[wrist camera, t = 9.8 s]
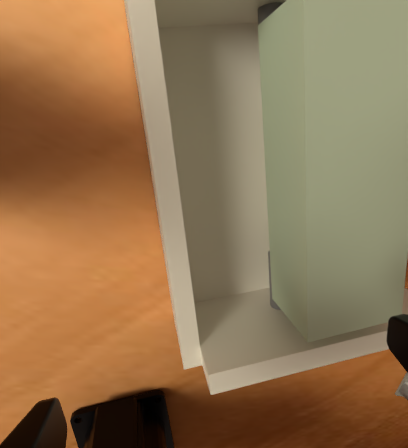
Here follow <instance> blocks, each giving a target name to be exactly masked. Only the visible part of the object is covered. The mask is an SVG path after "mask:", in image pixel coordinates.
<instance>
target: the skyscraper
mask: <svg viewBox="0 0 408 448" xmlns="http://www.w3.org/2000/svg"><path fill="white" fill-rule="evenodd" d="M395 395H397V396H404V397H405V398H406V399H407V400H408V373H406V375H405V377H404V378H403V380H402V382H401V384H400V386H399V387H398V389H397V391H396V393H395Z"/></svg>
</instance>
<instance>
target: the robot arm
mask: <svg viewBox="0 0 408 448" xmlns="http://www.w3.org/2000/svg"><path fill="white" fill-rule="evenodd" d="M386 341H387V345H388V347H389V349H390V351H391V352H392V353H393V354H394V356H395V357H396V358H397V360H398V361H399V362H400V364H401V365H402V366H403V367H404V369H405V370H406V371H407V373H408V315H407V314H400V315H395V316H392V317H390V318H389V320H388V329H387V339H386ZM157 397H160V398H157ZM156 398H157V399H156ZM70 422H71V425H72V429H73V432H74V435H75V438H76V441H77V444H78V447H79V448H174V443H173V438H172V432H171V427H170V422H169V416H168V411H167V406H166V400H165V395H164V392H163V391H161V390H156V391H152V392H148V393H144V394H140V395H136V396H132V397H128V398H124V399H120V400H116V401H112V402H108V403H104V404H100V405H96V406H92V407H88V408H84V409H80V410H76V411H74V412H73V413H72V416H71V420H70ZM66 438H67V423H66V420H65V417H64V414H63V410H62V407H61V404H60V401H59V400H58V398H50V399H46V400H42V401H39V402H38V403H37V404H36V405H35V406H34V407H33V408H32V409H31V410H30V411H29V413H28V414H27V415H26V416H25V417H24V418H23V419H22V420H21V422H20V423H19V424H18V425H17V426H16V427H15V428H14V430H13V431H12V432H11V433H10V434H9V435H8V436H7V438H6V439H5V440H4V441H3V442H2V443H1V444H0V448H66Z"/></svg>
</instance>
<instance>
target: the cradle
mask: <svg viewBox="0 0 408 448" xmlns="http://www.w3.org/2000/svg"><path fill="white" fill-rule="evenodd" d="M285 1H286V0H124V3H125V11H126V17H127V24H128V30H129V36H130V43H131V49H132V55H133V62H134V68H135V74H136V81H137V87H138V93H139V100H140V106H141V112H142V119H143V125H144V131H145V138H146V144H147V150H148V157H149V163H150V169H151V176H152V182H153V188H154V195H155V201H156V207H157V214H158V220H159V227H160V233H161V239H162V246H163V252H164V258H165V265H166V271H167V277H168V284H169V290H170V296H171V303H172V309H173V315H174V321H175V326H176V331H177V336H178V341H179V346H180V351H181V356H182V361H183V366H184V369H188V368H192V367H197V366H201V365H203V369H204V373H205V376H206V380H207V383H208V387H209V390H210V394H211V395H213V394H217V393H221V392H225V391H229V390H232V389H236V388H240V387H244V386H248V385H252V384H256V383H259V382H263V381H267V380H271V379H275V378H279V377H283V376H286V375H290V374H294V373H298V372H302V371H306V370H309V369H313V368H317V367H321V366H325V365H329V364H333V363H336V362H340V361H344V360H348V359H352V358H356V357H360V356H363V355H367V354H371V353H375V352H379V351H383V350H387V349H389V347H388V345H387V341H386V339H387V329H388V322H387V323H383V324H379V325H375V326H371V327H367V328H363V329H359V330H355V331H351V332H347V333H343V334H340V335H336V336H332V337H328V338H324V339H320V340H316V341H312V342H307V341H306V340H305V338H304V337H303V336H302V335H301V333H300V332H299V331H298V330H297V329H296V327H295V326H294V325H293V324H292V322H291V321H290V320H289V319H288V317H287V316H286V315H285V314H284V312H283V311H282V310H281V309H280V308H279V306H278V305H277V304H276V303H275V301H274V300H273V299H272V284H271V266H270V247H269V228H268V209H267V190H266V172H265V153H264V134H263V115H262V96H261V78H260V59H259V40H258V25H259V24H260V23H261V22H263V21H264V20H265V19H266V18H267V17H268V16H269V15H271V14H272V13H273V12H274V11H275V10H276V9H277V8H278V7H280V6H281V5H282V4H283V3H284V2H285ZM402 314H407V315H408V289H406V288H404V297H403V307H402Z"/></svg>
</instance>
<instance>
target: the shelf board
mask: <svg viewBox="0 0 408 448" xmlns="http://www.w3.org/2000/svg"><path fill="white" fill-rule="evenodd" d="M258 40H259V59H260V78H261V96H262V115H263V134H264V153H265V172H266V190H267V209H268V228H269V247H270V266H271V284H272V299H273V300H274V301H275V303H276V304H277V305H278V306H279V308H280V309H281V310H282V311H283V312H284V314H285V315H286V316H287V317H288V319H289V320H290V321H291V322H292V324H293V325H294V326H295V327H296V329H297V330H298V331H299V332H300V333H301V335H302V336H303V337H304V338H305V340H306V341H307V342H312V341H316V340H320V339H324V338H328V337H332V336H336V335H340V334H343V333H347V332H351V331H355V330H359V329H363V328H367V327H371V326H375V325H379V324H383V323H387V322H388V320H389V318H390V317H392V316H395V315H400V314H402V307H403V297H404V287H405V277H406V267H407V257H408V0H286V1H285V2H284V3H283V4H282V5H281V6H280V7H278V8H277V9H276V10H275V11H274V12H273V13H272V14H271V15H269V16H268V17H267V18H266V19H265V20H264V21H263V22H261V23H260V24H259V25H258Z"/></svg>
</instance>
